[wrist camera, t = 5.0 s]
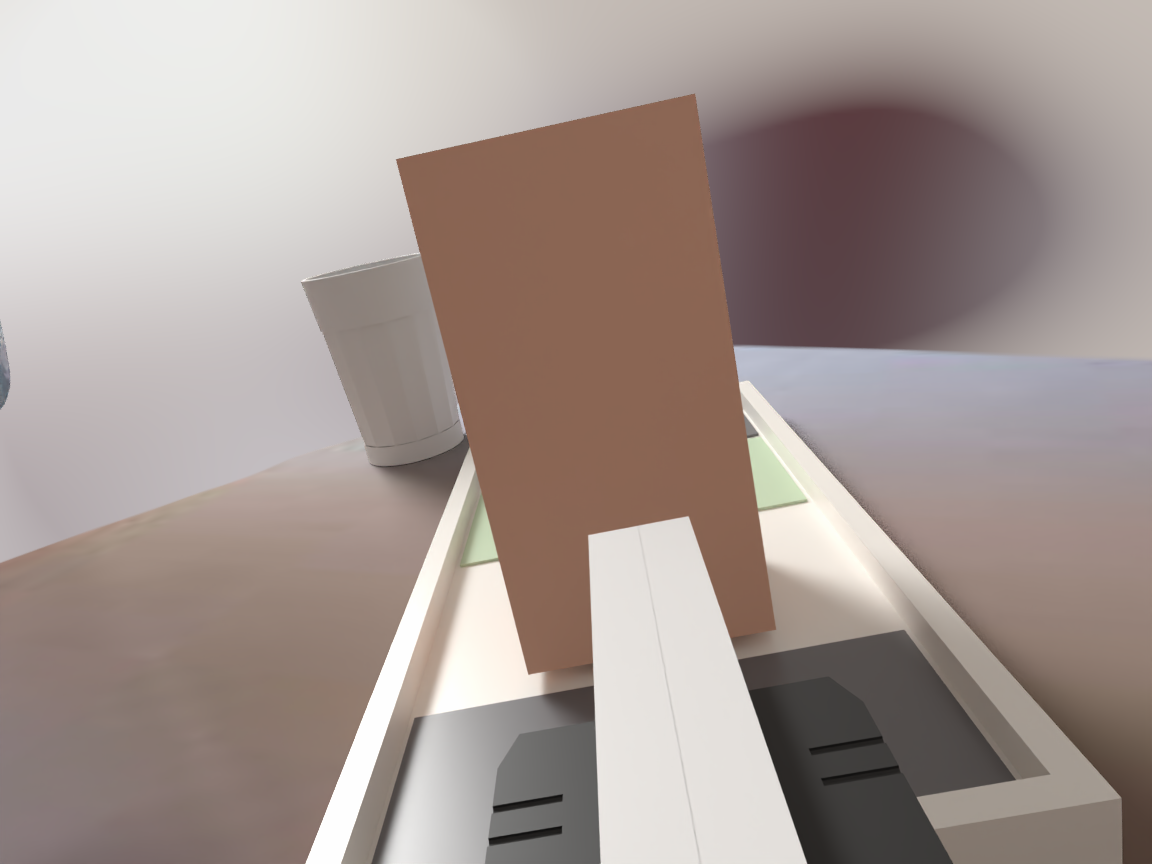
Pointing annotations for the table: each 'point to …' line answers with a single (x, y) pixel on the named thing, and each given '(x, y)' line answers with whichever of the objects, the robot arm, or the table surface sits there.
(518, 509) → the block
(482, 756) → the sorting tray
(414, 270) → the cup
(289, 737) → the table surface
